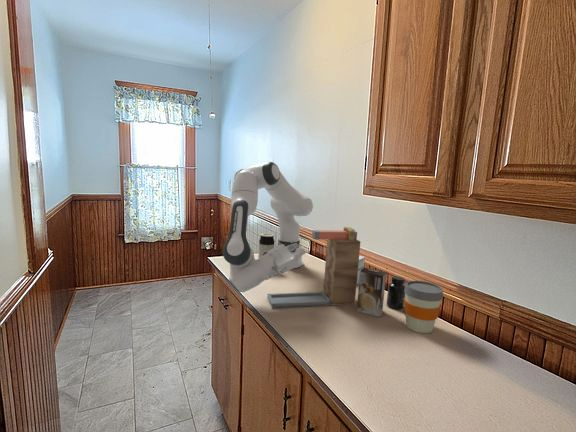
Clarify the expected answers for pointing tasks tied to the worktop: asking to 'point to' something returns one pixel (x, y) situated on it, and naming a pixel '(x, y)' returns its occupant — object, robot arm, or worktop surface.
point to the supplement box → (360, 266)
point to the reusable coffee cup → (422, 305)
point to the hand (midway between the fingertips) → (300, 247)
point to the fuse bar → (331, 234)
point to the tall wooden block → (341, 269)
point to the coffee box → (371, 291)
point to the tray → (298, 299)
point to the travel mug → (265, 243)
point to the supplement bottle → (396, 293)
